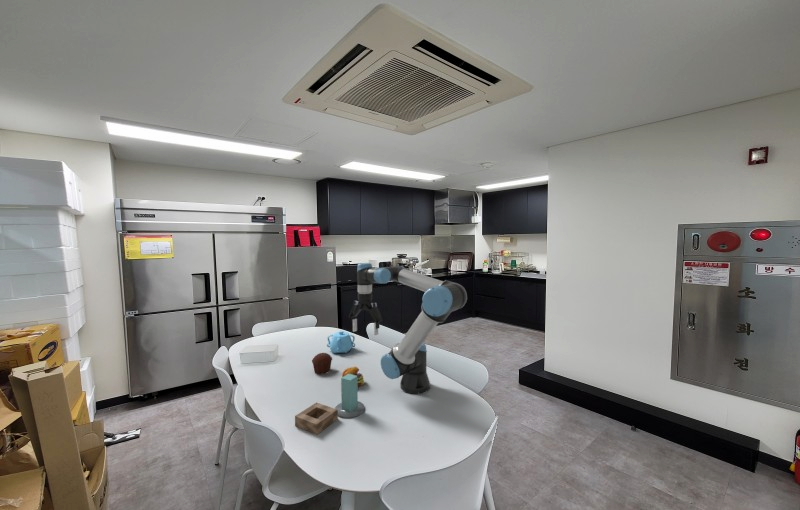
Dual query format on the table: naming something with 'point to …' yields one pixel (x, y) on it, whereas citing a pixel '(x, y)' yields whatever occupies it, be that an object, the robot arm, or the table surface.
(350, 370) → the cheeseburger
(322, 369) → the muffin
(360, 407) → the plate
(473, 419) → the table surface
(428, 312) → the robot arm
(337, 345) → the decorative pot
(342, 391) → the post
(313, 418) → the holder
